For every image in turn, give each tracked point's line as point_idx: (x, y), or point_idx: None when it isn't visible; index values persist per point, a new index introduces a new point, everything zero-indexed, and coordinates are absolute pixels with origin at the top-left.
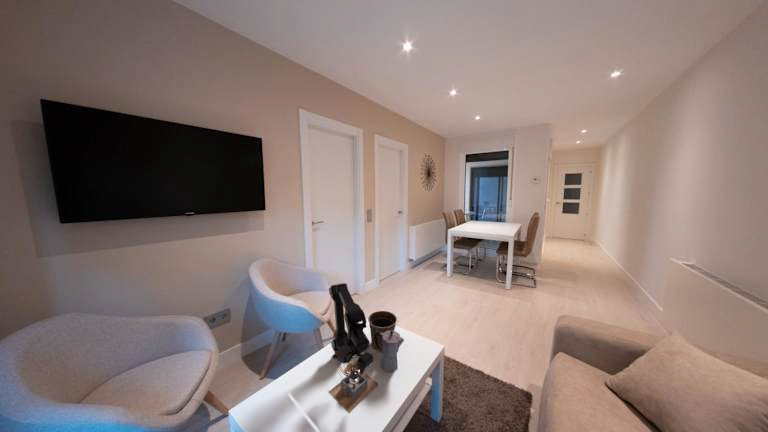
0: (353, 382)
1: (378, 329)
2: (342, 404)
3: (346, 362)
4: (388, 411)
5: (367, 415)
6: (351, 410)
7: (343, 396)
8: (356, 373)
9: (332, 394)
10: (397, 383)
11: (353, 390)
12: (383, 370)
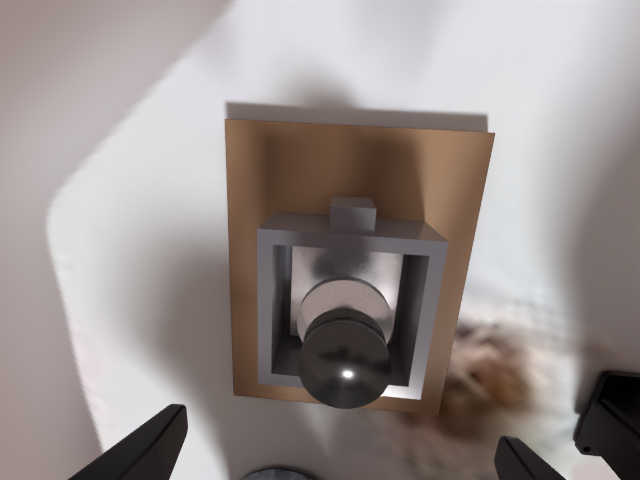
0: (324, 297)
1: None
2: (315, 135)
3: (521, 451)
4: (80, 296)
5: (143, 200)
6: (228, 147)
7: (358, 186)
8: (320, 381)
9: (446, 141)
10: None
11: (270, 242)
12: (283, 476)
